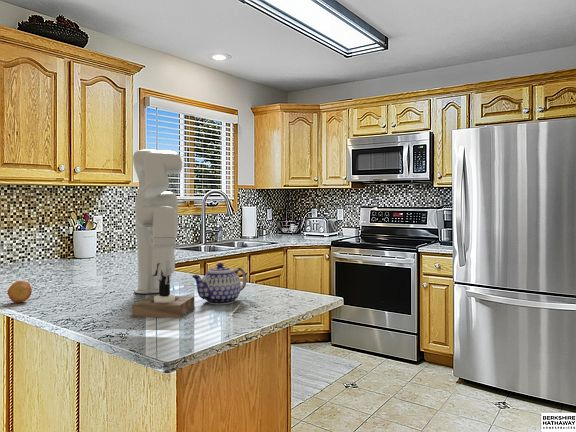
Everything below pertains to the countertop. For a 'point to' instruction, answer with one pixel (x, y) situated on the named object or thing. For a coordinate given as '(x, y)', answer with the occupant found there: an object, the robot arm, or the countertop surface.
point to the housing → (163, 307)
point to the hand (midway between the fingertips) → (164, 295)
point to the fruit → (19, 291)
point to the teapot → (220, 285)
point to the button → (164, 299)
